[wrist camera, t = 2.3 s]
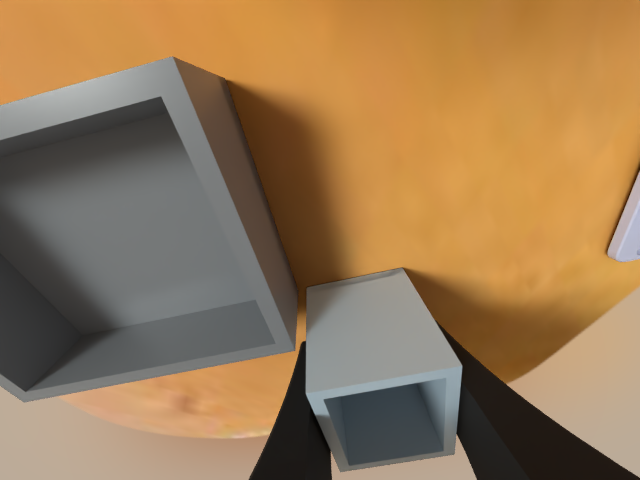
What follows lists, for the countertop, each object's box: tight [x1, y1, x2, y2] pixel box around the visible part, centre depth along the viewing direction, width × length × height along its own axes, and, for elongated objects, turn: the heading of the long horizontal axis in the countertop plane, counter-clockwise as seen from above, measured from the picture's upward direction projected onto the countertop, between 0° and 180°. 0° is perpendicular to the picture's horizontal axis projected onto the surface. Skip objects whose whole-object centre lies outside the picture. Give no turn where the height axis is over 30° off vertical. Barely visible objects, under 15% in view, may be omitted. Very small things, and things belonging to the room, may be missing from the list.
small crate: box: [306, 268, 462, 472], centre depth 10 cm, size 4×5×4 cm
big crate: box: [0, 57, 298, 402], centre depth 8 cm, size 10×8×3 cm
